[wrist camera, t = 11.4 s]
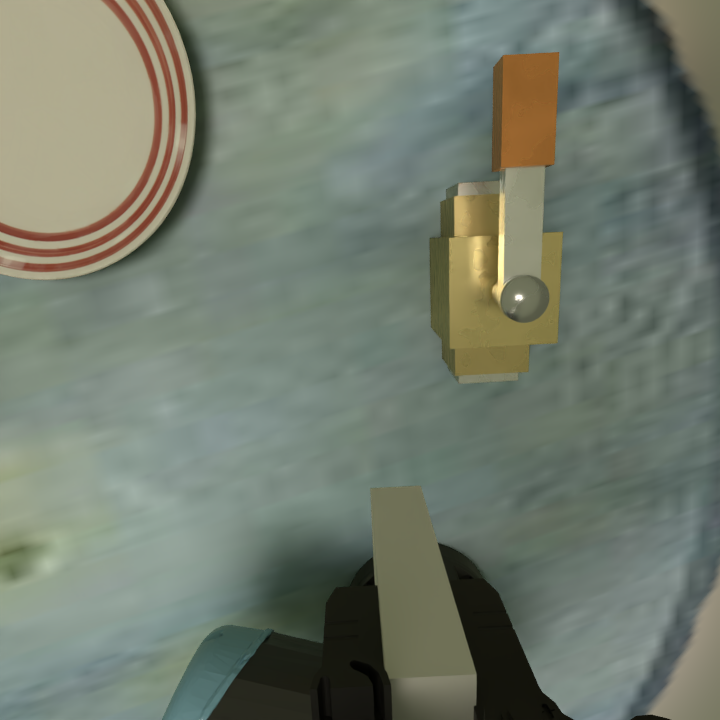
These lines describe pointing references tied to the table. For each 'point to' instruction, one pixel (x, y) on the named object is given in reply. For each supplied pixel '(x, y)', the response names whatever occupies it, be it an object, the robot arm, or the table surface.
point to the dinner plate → (89, 131)
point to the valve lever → (523, 176)
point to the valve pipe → (483, 290)
